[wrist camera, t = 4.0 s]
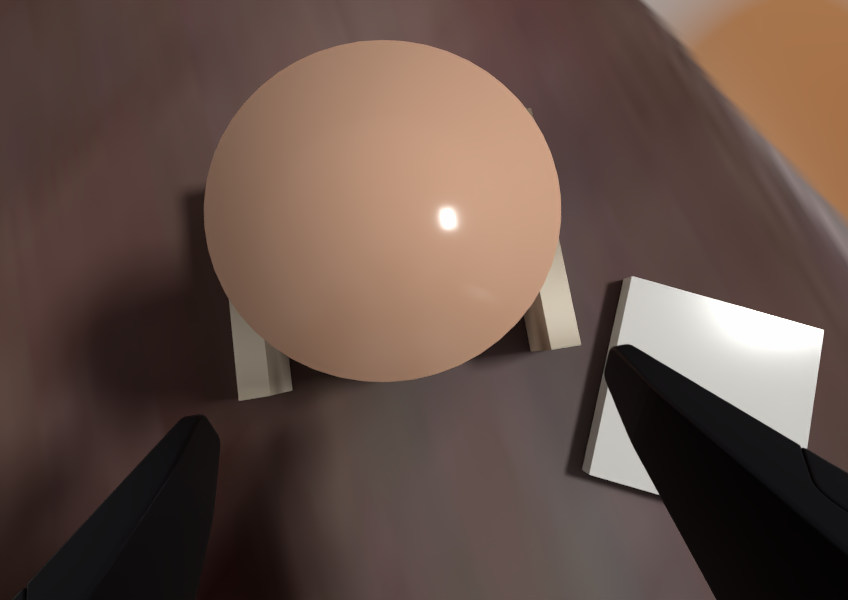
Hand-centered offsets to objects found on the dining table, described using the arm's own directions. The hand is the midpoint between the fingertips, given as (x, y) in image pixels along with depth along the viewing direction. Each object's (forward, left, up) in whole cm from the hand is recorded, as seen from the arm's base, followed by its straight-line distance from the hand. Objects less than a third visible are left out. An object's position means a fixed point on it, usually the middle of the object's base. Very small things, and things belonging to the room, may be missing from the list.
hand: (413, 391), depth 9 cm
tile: (+9, -10, -10) cm, 17 cm away
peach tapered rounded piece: (+2, +3, -10) cm, 11 cm away
